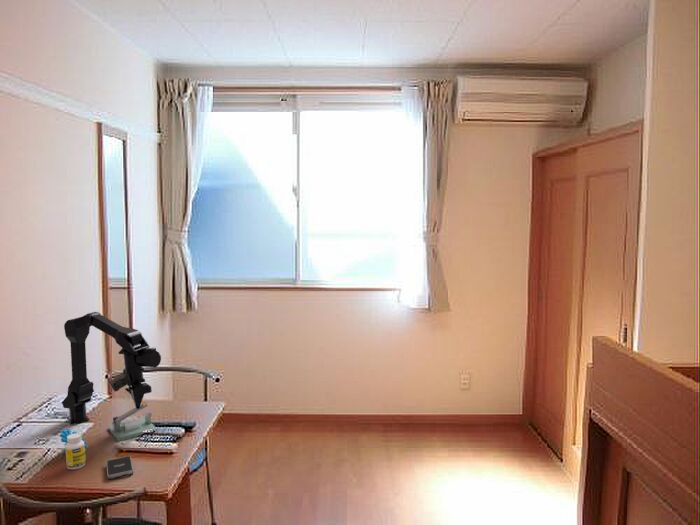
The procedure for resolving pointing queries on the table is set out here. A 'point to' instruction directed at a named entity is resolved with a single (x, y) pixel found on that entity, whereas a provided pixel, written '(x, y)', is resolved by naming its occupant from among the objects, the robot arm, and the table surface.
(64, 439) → the gear
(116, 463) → the external hard drive
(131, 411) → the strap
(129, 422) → the heatsink
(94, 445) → the table surface
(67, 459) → the supplement bottle
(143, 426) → the board
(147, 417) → the post
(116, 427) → the post
